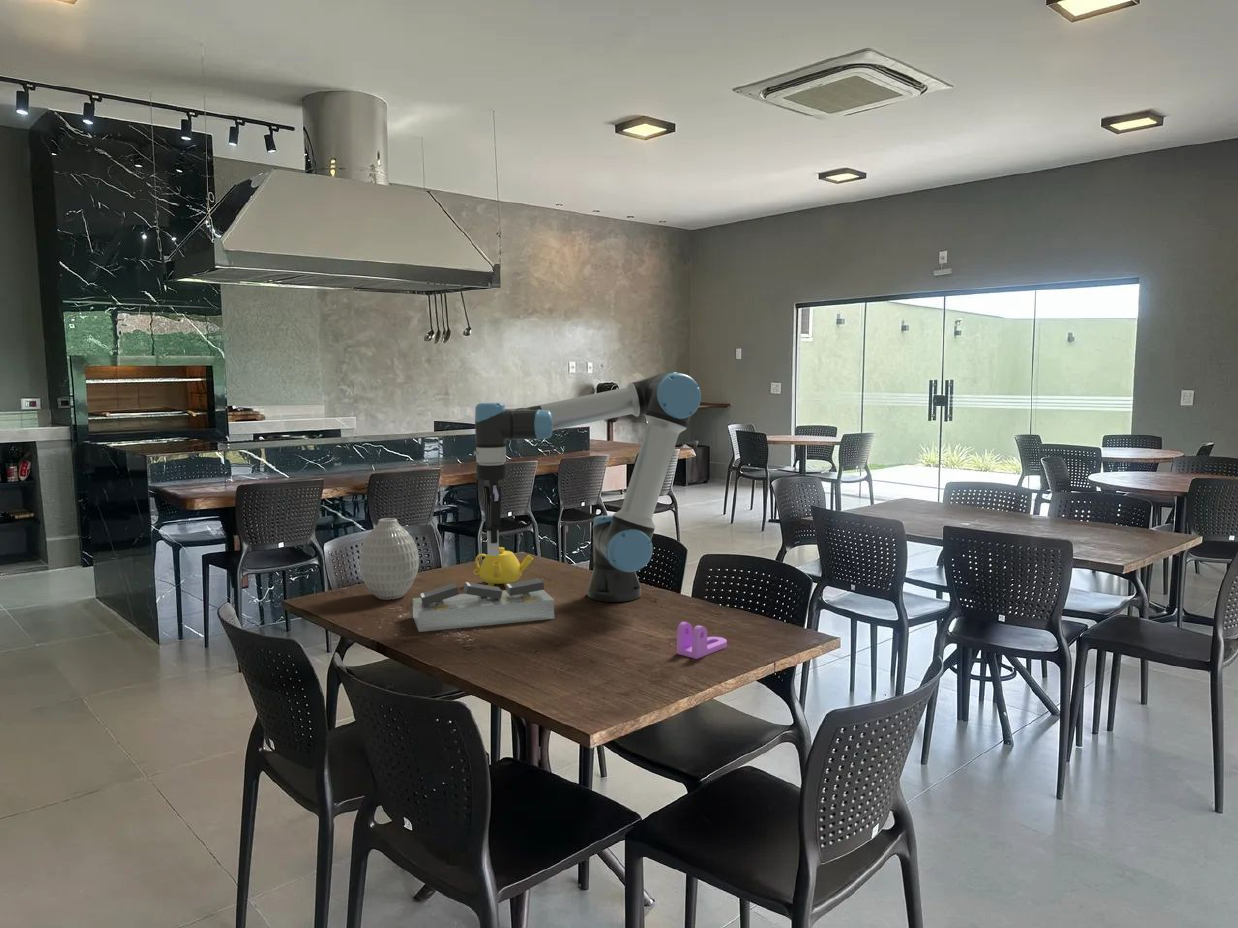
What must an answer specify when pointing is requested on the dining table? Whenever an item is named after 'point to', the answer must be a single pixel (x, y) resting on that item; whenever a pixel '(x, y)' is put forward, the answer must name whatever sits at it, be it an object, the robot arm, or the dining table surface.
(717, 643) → the bracket
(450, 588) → the switch
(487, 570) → the teapot
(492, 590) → the switch
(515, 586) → the switch
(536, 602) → the console
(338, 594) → the dining table surface
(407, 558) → the vase
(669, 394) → the robot arm
